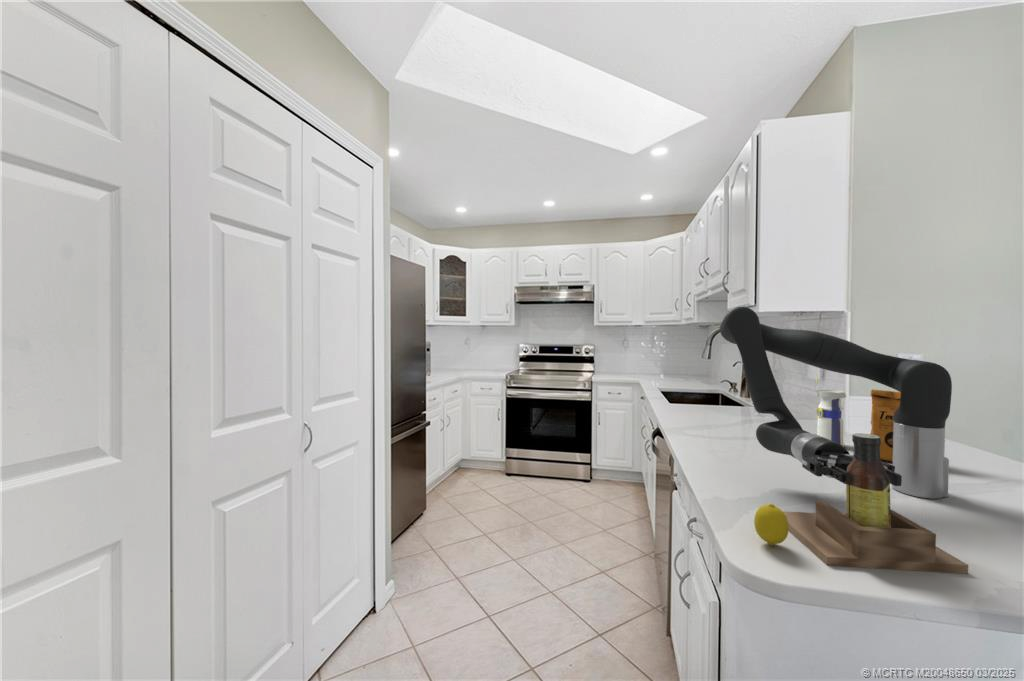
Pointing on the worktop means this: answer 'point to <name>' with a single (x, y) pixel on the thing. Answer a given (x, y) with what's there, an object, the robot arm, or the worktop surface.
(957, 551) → the worktop surface
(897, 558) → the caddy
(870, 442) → the sauce bottle
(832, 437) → the white and blue bottle
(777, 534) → the lemon
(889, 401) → the coffee package
